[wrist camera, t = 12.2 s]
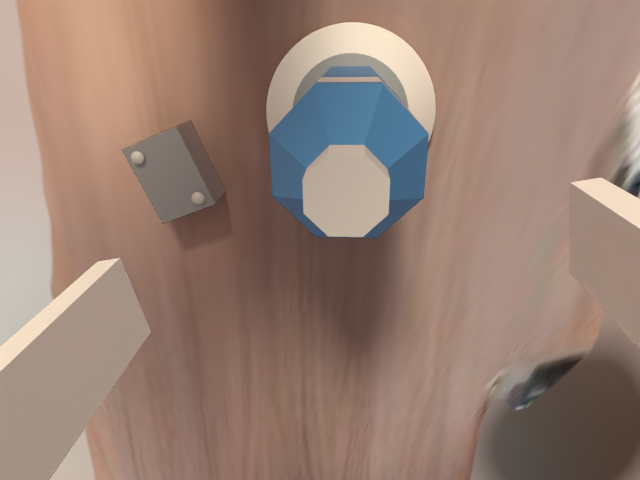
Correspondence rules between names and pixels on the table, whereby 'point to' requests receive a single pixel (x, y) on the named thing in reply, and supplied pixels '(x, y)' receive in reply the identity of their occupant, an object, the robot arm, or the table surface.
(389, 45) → the cream plate
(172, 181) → the box
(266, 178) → the table surface
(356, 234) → the water bottle
